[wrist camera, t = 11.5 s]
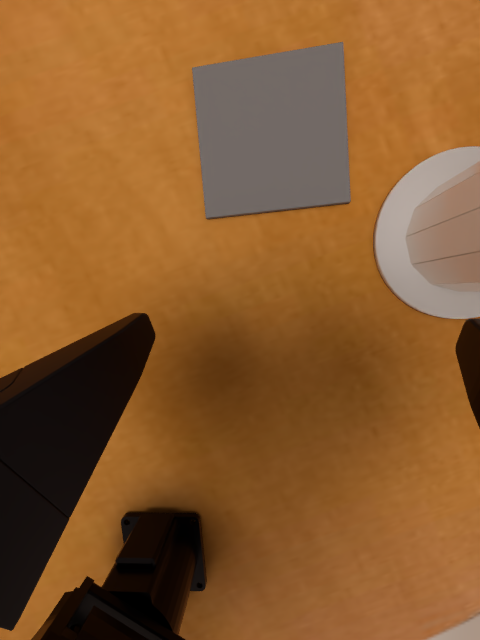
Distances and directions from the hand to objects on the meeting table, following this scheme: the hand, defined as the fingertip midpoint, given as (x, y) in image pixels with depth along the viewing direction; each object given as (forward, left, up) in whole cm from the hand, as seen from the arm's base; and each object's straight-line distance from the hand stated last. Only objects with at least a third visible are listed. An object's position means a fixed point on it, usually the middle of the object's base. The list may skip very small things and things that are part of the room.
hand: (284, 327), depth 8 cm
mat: (+12, -1, -13) cm, 17 cm away
